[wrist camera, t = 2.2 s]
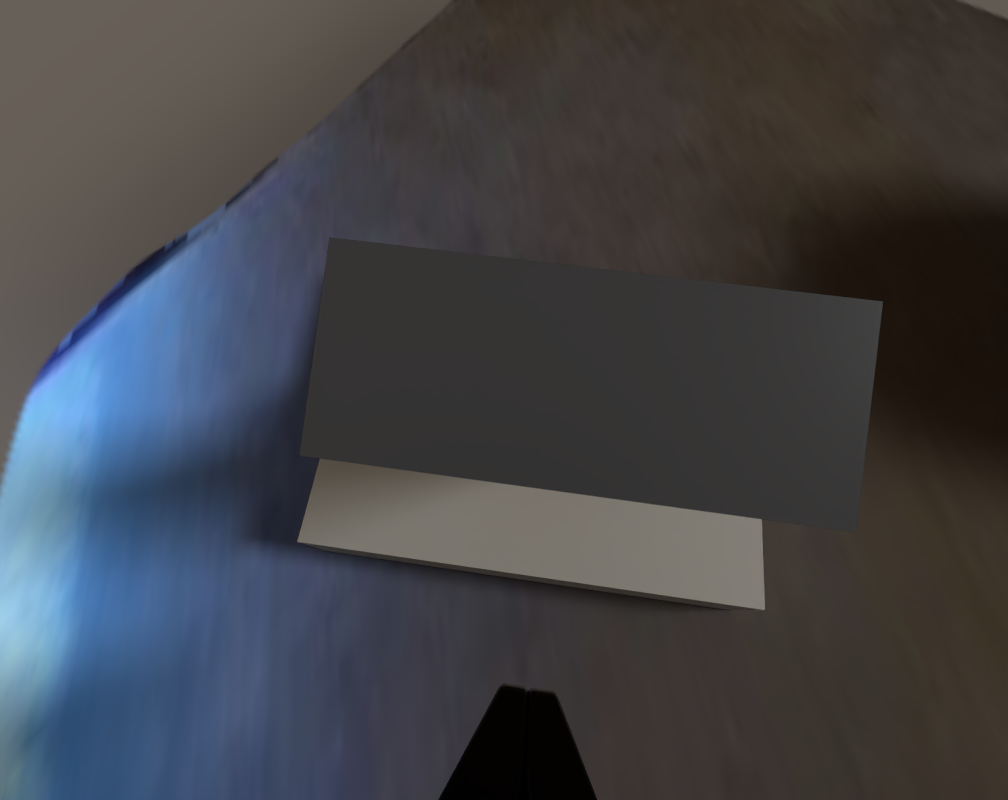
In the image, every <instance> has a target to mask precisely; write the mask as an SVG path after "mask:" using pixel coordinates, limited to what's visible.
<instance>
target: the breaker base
mask: <svg viewBox="0 0 1008 800" xmlns="http://www.w3.org/2000/svg"><path fill="white" fill-rule="evenodd" d="M297 542H299V543H302V544H305V545H308V546H311V547H314V548H317V549H320V550H323V551H330V552H337V553H344V554H351V555H358V556H364V557H371V558H378V559H385V560H392V561H399V562H405V563H412V564H419V565H426V566H433V567H439V568H446V569H453V570H460V571H467V572H474V573H480V574H487V575H494V576H501V577H508V578H515V579H521V580H528V581H535V582H542V583H549V584H555V585H562V586H569V587H576V588H583V589H590V590H596V591H603V592H610V593H617V594H624V595H631V596H637V597H644V598H651V599H658V600H665V601H671V602H678V603H685V604H692V605H699V606H706V607H712V608H719V609H726V610H765V601H764V572H763V543H762V519H756V518H749V517H741V516H734V515H727V514H719V513H712V512H705V511H698V510H690V509H683V508H676V507H669V506H661V505H654V504H647V503H639V502H632V501H625V500H618V499H610V498H603V497H596V496H589V495H581V494H574V493H567V492H559V491H552V490H545V489H538V488H530V487H523V486H516V485H509V484H501V483H494V482H487V481H480V480H472V479H465V478H458V477H450V476H443V475H436V474H429V473H421V472H414V471H407V470H400V469H392V468H385V467H378V466H370V465H363V464H356V463H349V462H341V461H334V460H327V459H320V460H319V464H318V467H317V471H316V475H315V478H314V482H313V486H312V489H311V493H310V497H309V501H308V504H307V508H306V512H305V515H304V519H303V523H302V526H301V530H300V534H299V537H298V541H297Z"/></svg>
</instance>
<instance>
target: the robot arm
mask: <svg viewBox="0 0 1008 800" xmlns="http://www.w3.org/2000/svg"><path fill="white" fill-rule="evenodd" d="M439 800H597V798H596V795H595V793H594V790H593V788H592V785H591V782H590V780H589V777H588V775H587V772H586V769H585V767H584V764H583V761H582V759H581V756H580V754H579V751H578V748H577V746H576V743H575V740H574V738H573V735H572V733H571V730H570V727H569V725H568V722H567V720H566V717H565V714H564V712H563V709H562V706H561V704H560V701H559V699H558V697H557V695H556V693H555V692H553V691H550V690H543V689H537V688H531V689H530V690H529V691H527V689H526V688H525V687H523V686H518V685H511V684H502V685H501V686H500V687H499V689H498V690H497V692H496V694H495V696H494V698H493V700H492V701H491V703H490V705H489V707H488V709H487V711H486V713H485V714H484V716H483V718H482V720H481V722H480V724H479V726H478V727H477V729H476V731H475V733H474V735H473V737H472V738H471V740H470V742H469V744H468V746H467V748H466V750H465V751H464V753H463V755H462V757H461V759H460V761H459V763H458V764H457V766H456V768H455V770H454V772H453V774H452V775H451V777H450V779H449V781H448V783H447V785H446V787H445V788H444V790H443V792H442V794H441V796H440V798H439Z"/></svg>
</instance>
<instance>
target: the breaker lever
mask: <svg viewBox="0 0 1008 800" xmlns="http://www.w3.org/2000/svg"><path fill="white" fill-rule="evenodd" d="M882 306H883V301H875V300H866V299H857V298H849V297H840V296H831V295H823V294H814V293H805V292H797V291H788V290H779V289H771V288H762V287H753V286H745V285H736V284H728V283H719V282H710V281H702V280H693V279H684V278H676V277H667V276H658V275H650V274H641V273H632V272H624V271H615V270H607V269H598V268H589V267H581V266H572V265H563V264H555V263H546V262H537V261H529V260H520V259H511V258H503V257H494V256H485V255H477V254H468V253H460V252H451V251H442V250H434V249H425V248H416V247H408V246H399V245H390V244H382V243H373V242H364V241H356V240H347V239H338V238H330V237H329V244H328V252H327V259H326V266H325V273H324V281H323V288H322V295H321V302H320V309H319V317H318V324H317V331H316V338H315V346H314V353H313V360H312V367H311V374H310V382H309V389H308V396H307V403H306V411H305V418H304V425H303V432H302V440H301V447H300V454H299V456H305V457H312V458H320V459H327V460H334V461H341V462H349V463H356V464H363V465H370V466H378V467H385V468H392V469H400V470H407V471H414V472H421V473H429V474H436V475H443V476H450V477H458V478H465V479H472V480H480V481H487V482H494V483H501V484H509V485H516V486H523V487H530V488H538V489H545V490H552V491H559V492H567V493H574V494H581V495H589V496H596V497H603V498H610V499H618V500H625V501H632V502H639V503H647V504H654V505H661V506H669V507H676V508H683V509H690V510H698V511H705V512H712V513H719V514H727V515H734V516H741V517H749V518H756V519H763V520H770V521H778V522H785V523H792V524H799V525H807V526H814V527H821V528H828V529H836V530H843V531H850V532H856V530H857V522H858V513H859V505H860V496H861V487H862V479H863V470H864V461H865V453H866V444H867V436H868V427H869V418H870V410H871V401H872V392H873V384H874V375H875V367H876V358H877V349H878V341H879V332H880V324H881V315H882Z"/></svg>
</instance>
